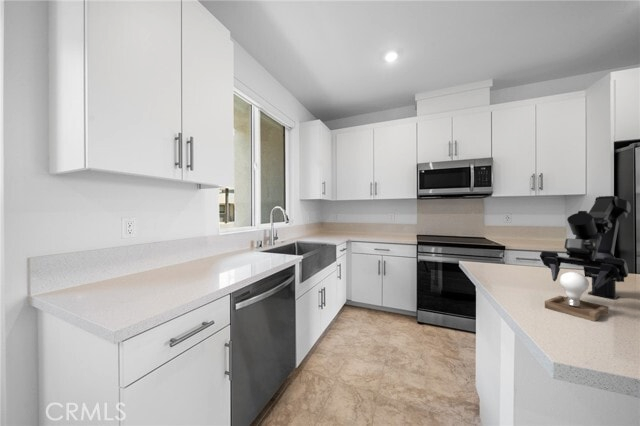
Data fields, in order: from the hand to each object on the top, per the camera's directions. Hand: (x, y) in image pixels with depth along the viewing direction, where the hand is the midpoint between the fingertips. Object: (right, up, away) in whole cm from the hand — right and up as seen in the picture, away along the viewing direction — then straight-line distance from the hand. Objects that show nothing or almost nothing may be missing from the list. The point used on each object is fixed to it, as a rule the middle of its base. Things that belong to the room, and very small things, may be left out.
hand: (573, 284), depth 75 cm
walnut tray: (+1, -9, +1) cm, 9 cm away
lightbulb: (+1, -8, +1) cm, 8 cm away
